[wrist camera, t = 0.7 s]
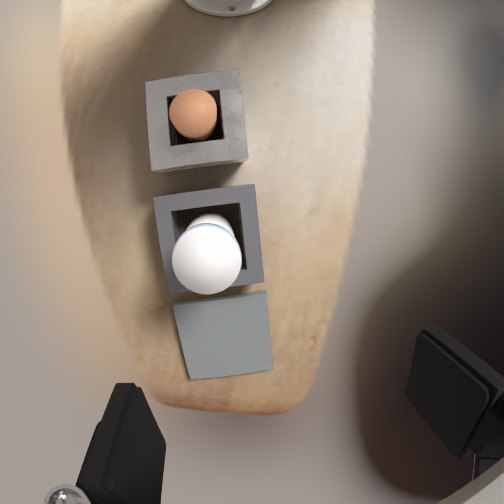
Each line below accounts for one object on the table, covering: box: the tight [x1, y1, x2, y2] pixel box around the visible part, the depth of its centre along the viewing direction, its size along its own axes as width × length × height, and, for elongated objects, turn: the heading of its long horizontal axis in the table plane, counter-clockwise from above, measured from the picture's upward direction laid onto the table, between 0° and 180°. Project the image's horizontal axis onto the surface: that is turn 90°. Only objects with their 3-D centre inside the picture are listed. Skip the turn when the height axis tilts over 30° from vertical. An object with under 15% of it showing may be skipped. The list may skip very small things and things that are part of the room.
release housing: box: [145, 70, 248, 173], centre depth 27 cm, size 9×9×6 cm
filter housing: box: [153, 184, 264, 294], centre depth 31 cm, size 10×10×4 cm
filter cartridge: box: [172, 212, 242, 294], centre depth 27 cm, size 5×5×12 cm
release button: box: [169, 89, 217, 141], centre depth 24 cm, size 4×4×5 cm
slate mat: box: [173, 291, 273, 380], centre depth 35 cm, size 11×11×1 cm
